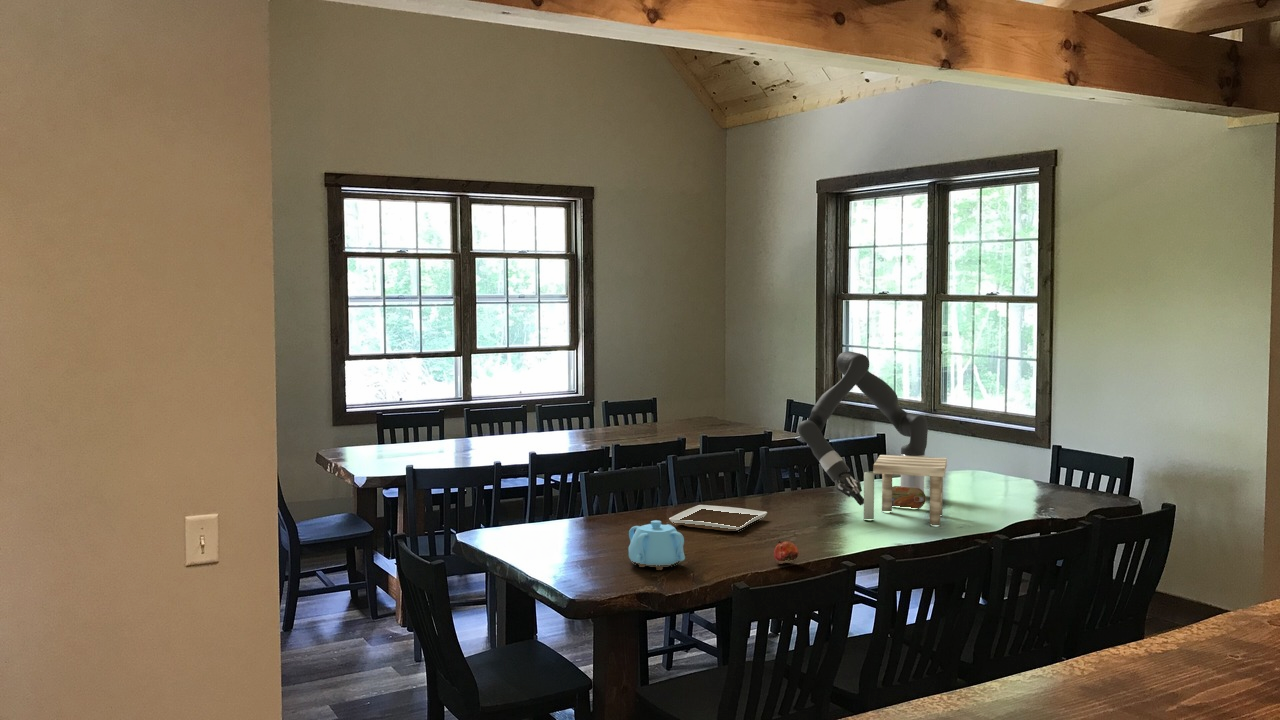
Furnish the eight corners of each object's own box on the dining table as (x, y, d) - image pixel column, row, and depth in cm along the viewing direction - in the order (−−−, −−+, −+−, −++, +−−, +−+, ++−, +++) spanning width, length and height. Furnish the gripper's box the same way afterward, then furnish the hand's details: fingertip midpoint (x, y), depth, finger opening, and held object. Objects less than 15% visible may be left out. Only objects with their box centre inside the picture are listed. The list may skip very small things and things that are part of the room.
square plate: (667, 528, 360) (667, 517, 360) (699, 513, 384) (699, 503, 384) (739, 536, 347) (739, 525, 347) (768, 520, 372) (768, 510, 371)
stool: (879, 510, 387) (880, 454, 386) (945, 514, 380) (946, 457, 378) (872, 523, 364) (873, 464, 363) (943, 528, 357) (944, 468, 355)
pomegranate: (802, 572, 309) (791, 546, 316) (805, 557, 304) (794, 531, 311) (778, 576, 308) (768, 550, 315) (781, 561, 303) (770, 535, 310)
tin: (884, 507, 393) (884, 485, 392) (886, 505, 396) (886, 484, 395) (924, 511, 386) (924, 488, 385) (926, 509, 389) (926, 487, 388)
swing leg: (882, 514, 378) (883, 468, 377) (891, 516, 375) (891, 469, 374) (861, 520, 369) (862, 472, 368) (869, 521, 366) (870, 473, 365)
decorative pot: (630, 573, 301) (630, 527, 300) (627, 559, 317) (627, 515, 316) (686, 572, 302) (686, 526, 301) (679, 558, 318) (679, 514, 317)
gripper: (830, 461, 371) (859, 500, 363) (850, 457, 381) (879, 494, 373) (818, 474, 375) (846, 512, 367) (837, 470, 385) (866, 507, 377)
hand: (862, 503), depth 370 cm, fingers closed
